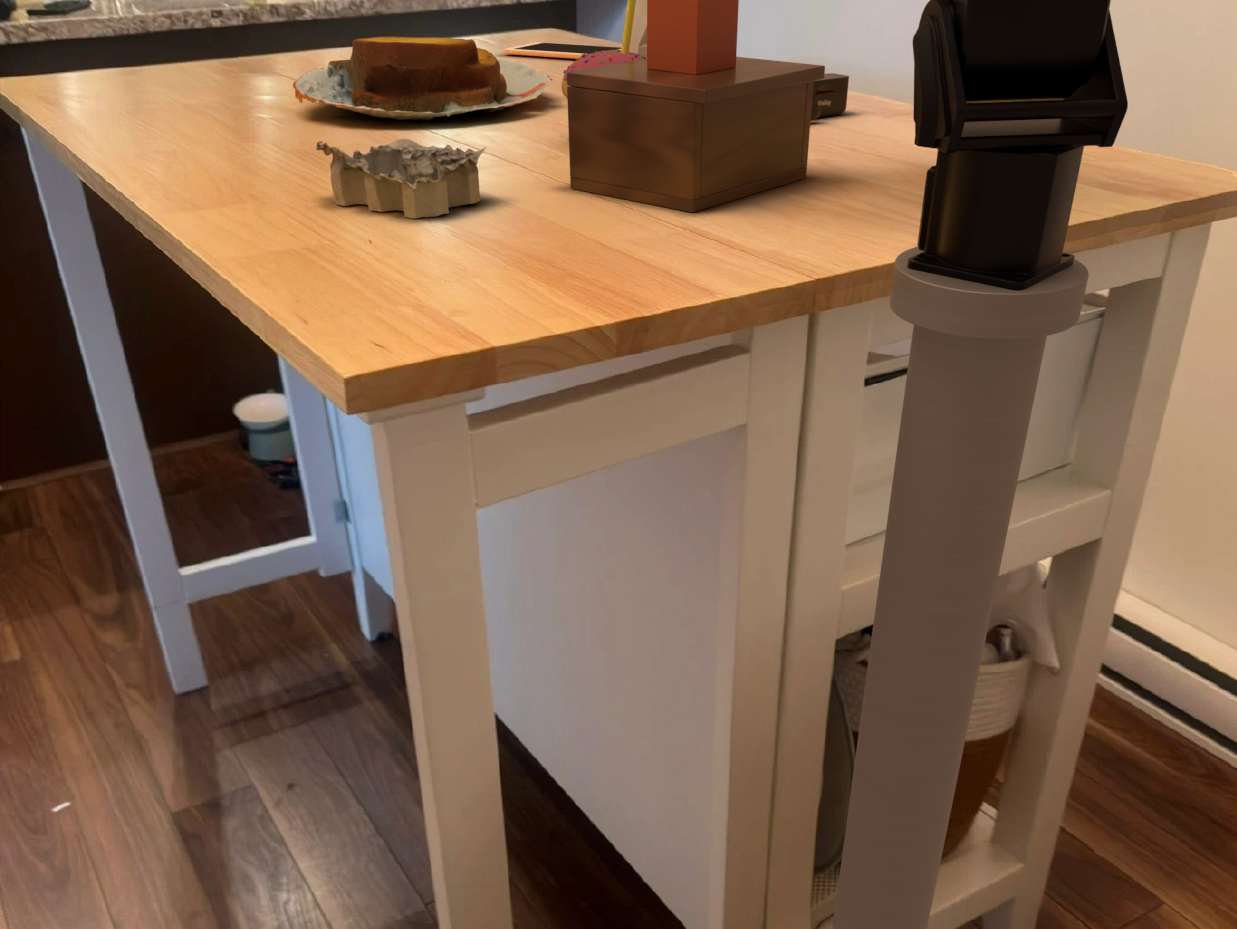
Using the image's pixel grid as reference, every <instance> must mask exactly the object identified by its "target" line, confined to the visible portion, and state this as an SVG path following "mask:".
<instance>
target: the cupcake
mask: <svg viewBox="0 0 1237 929" xmlns="http://www.w3.org/2000/svg"><path fill="white" fill-rule="evenodd" d="M636 2H637V0H627V3H626V4H627V5H626V12H625V19H624V28H623V34H622V37H623V42H622V41H621V47H622V50H619V49H616V50H613V49H611V50H609V51H604V50H603V51H600V52H597V51H595V53H592V52H589V53H588V54H582V56H580V57H579V58H578V59H575V60H574V61H573V63H571V64H570V65H568V66H567V68H566V69H565V70H563V71H562V73H563V77H562V79H561V93H562V94H563V96H564V97H565V99H567V87H568V85H567V72H572V71H578V70H584V69H590V68H596V67H602V66H608V65H614V64H620V63H626V62H632V61H638V60H644V59H647V58H645V57H644V56H643V55H640V54H637V53H631V52H629V49H630V42H631V34H632V27H633V19H634V12H635V5H636ZM642 56H643V57H642Z"/></svg>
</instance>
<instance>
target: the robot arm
mask: <svg viewBox="0 0 1237 929" xmlns="http://www.w3.org/2000/svg"><path fill="white" fill-rule="evenodd" d="M1111 2H1112V0H929V1H928V2H926V4H925V6H924V8H923V10H922V12H921V16H920V19H919V23H918V27H917V29H916V31H915V33H914V35H913V37H912V53H913V115H912V116H913V122H914V134H915V135H914V143H913V144H914V145H915V146H917V147H919V148H929V149H936V150H937V153H936V162H935V164H934V165H932V166H930V167H929V168H928V169H927V171H926V176H925V184H924V189H923V190H924V192H923V197H922V206H921V214H920V220H919V228H918V229H919V230H918V236H917V244H916V247H918V248H919V250H921V251H924V252H922V253H920V254H918V255H915V256H913V257H911V258H909V259H908V265H907V268H909V269H912V270H917V271H922V272H926V273H931V274H936V275H941V276H946V277H951V278H956V279H960V280H965V281H970V282H975V283H980V284H985V285H989V286H994V287H999V288H1004V289H1009V290H1016V291H1019V290H1025V289H1027V288H1029V287H1031V286H1032V285H1034V284H1036V283H1038V282H1040V281H1042V280H1044V279H1046V278H1048V277H1050V276H1052V275H1054V274H1056V273H1058V272H1060V271H1062V270H1064V269H1065V268H1067V267H1069V266H1071V265H1073V262H1074V259H1076V258H1075V257H1076V256H1075V255H1074V254H1073V253H1068V252H1064V249H1065V243H1066V238H1067V233H1068V228H1069V224H1070V218H1071V213H1072V208H1073V203H1074V199H1075V193H1076V189H1077V183H1078V179H1079V173H1080V169H1081V165H1082V164H1081V163H1082V160H1083V154H1084V150H1085V147H1093V146H1094V147H1095V146H1096V147H1098V148H1112V147H1113V146H1114V145H1115V142H1116V139H1117V137H1118V134H1119V132H1120V129H1121V127H1122V125H1123V122H1124V119H1125V116H1126V114H1127V112H1128V106H1129V102H1128V97H1127V92H1126V87H1125V80H1124V77H1123V76H1124V75H1123V72H1122V67H1121V61H1120V56H1119V51H1118V46H1117V41H1116V35H1115V30H1114V26H1113V20H1112V15H1111V10H1110V6H1111Z"/></svg>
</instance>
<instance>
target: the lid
mask: <svg viewBox="0 0 1237 929" xmlns="http://www.w3.org/2000/svg"><path fill="white" fill-rule="evenodd" d="M825 70H826V66H825V65H823V64H822V65H821V64H812V63H802V62H792V61H782V60H774V59H773V60H772V59H762V58H754V57H753V58H752V57H745V56H744V57H743V56H736V67H735V68H730V69H725V70H719V71H714V72H709V73H703V74H698V75H693V74H684V73H676V72H667V71H659V70H650V69H647V59H644V60H638V61H632V62H626V63H620V64H614V65H608V66H602V67H596V68H590V69H584V70H578V71H572V72H567V85H568V86H575V87H582V88H589V89H597V90H604V91H612V92H619V93H627V94H634V95H642V96H649V97H656V98H664V99H671V100H679V101H686V102H694V103H701V104H709V103H713V102H718V101H723V100H727V99H732V98H737V97H741V96H746V95H751V94H755V93H760V92H764V91H769V90H774V89H778V88H783V87H788V86H792V85H797V84H802V83H806V82H811V81H815V80H820V79H824V74H826V71H825Z"/></svg>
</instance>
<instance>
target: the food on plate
mask: <svg viewBox="0 0 1237 929" xmlns="http://www.w3.org/2000/svg"><path fill="white" fill-rule="evenodd" d="M351 50H352V51H351V55H350V59H339V60H338V59H337V60H331V61H328V64H327V67H326V68H324V67H321V68H313V69H311V70H310V71H309V70H308V71H305V73H302V74H301V76H300V77H299V78H298V79H297V80H295V81H293V83H292V87H293V88H292V90H293V89H294V94H295V95H294V96H295V98H296V99H297V100H298V103H301V104H303V100H305V99H306V100H307V101H309V102H310V103H313V104H315V103H316V102H317V101H318V104H319V105H321V104H322V103H323V104H325V105H333V106H335V107H336V109H344V110H348V111H351V112H356V113H360V114H363V115H369V116H370V117H371V116H372V117H376V118H380V119H381V118H385V119H386V118H387V119H393V120H398V121H399V120H401V121H405V120H409V121H410V120H413V121H417V120H423V121H427V122H429V121H431V120H432V119H435V118H441V117H445V116H447V117H450V116H452V115H459V114H464V113H468V112H469V113H470V112H473V111H479V110H485V111H484V112H485V113H488V114H489V113H493V112H498V111H501V110H504V109H506V108H509V107H513V106H516V105H520V104H522V103H525V102H529V101H533V100H538V96H539V95H541V94H542V92H545V91H546V90H547V89H546V88H547V87H548V85H549V81H550V82H553V78H551V77H550V75H548V74H546V73H542V72H540V71H538V70H537V69H536V68H534V67H531V66H528V65H526V64H525V63H522V62H519V61H510V60H507V59H502V58H497V57H496V56H495V55H494V54H493V53H492V52H490V51H488V50H487V49H484V48H480V47H477V44H476V41H475V40H474V39H472V38H468V39H465V38H453V37H434V36H431V37H413V36H412V37H409V36H374V37H367V38H356V39H353V40H352V49H351ZM553 103H555V101H554V100H553Z"/></svg>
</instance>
